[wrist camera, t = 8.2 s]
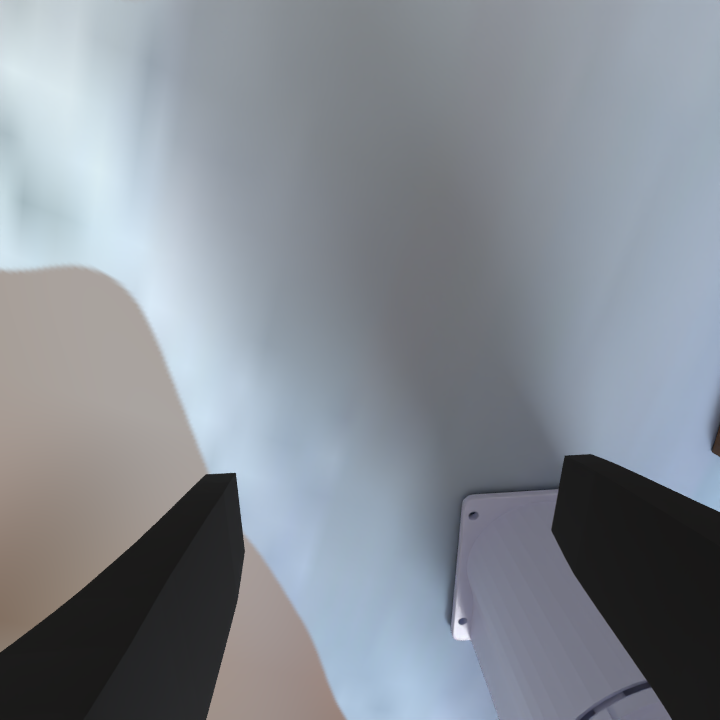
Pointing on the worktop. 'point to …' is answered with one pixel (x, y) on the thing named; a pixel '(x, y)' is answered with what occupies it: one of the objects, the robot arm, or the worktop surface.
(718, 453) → the cleat board
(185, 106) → the worktop surface
